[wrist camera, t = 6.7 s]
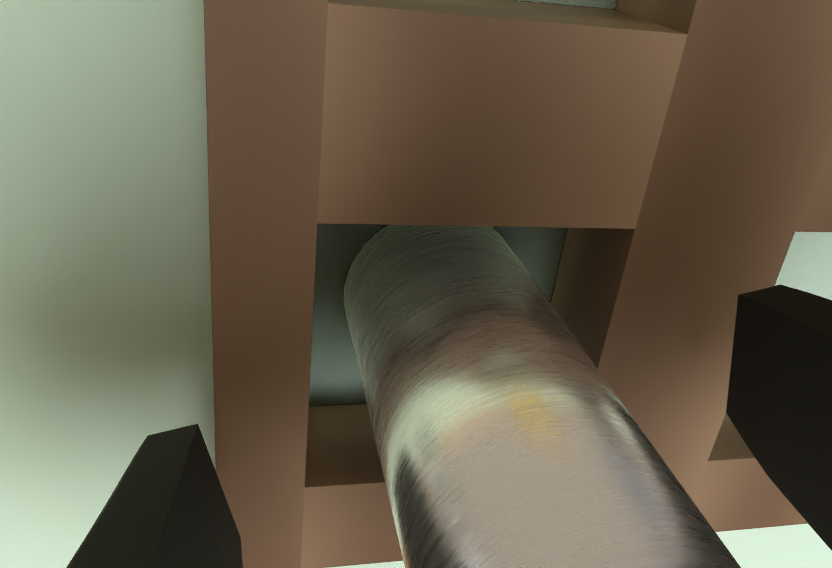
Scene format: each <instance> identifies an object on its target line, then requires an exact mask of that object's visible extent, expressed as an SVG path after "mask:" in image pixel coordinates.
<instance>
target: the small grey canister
mask: <svg viewBox="0 0 832 568" xmlns="http://www.w3.org/2000/svg"><path fill="white" fill-rule="evenodd" d="M344 307H345V313H346V317H347V322H348V326H349V330H350V334H351V339H352V343H353V347H354V352H355V356H356V360H357V364H358V369H359V373H360V377H361V381H362V386H363V390H364V394H365V398H366V403H367V407H368V411H369V416H370V420H371V424H372V428H373V433H374V437H375V441H376V445H377V450H378V454H379V458H380V462H381V467H382V471H383V475H384V479H385V484H386V488H387V492H388V497H389V501H390V505H391V509H392V514H393V518H394V522H395V526H396V531H397V535H398V539H399V543H400V548H401V552H402V556H403V560H404V565H405V568H741V567H740V566H739V565H738V563H737V562H736V560H735V559H734V558H733V556H732V555H731V553H730V552H729V551H728V549H727V548H726V546H725V545H724V544H723V542H722V541H721V540H720V538H719V537H718V535H717V534H716V533H715V531H714V530H713V528H712V527H711V526H710V524H709V523H708V521H707V520H706V519H705V517H704V516H703V515H702V513H701V512H700V510H699V509H698V508H697V506H696V505H695V503H694V502H693V501H692V499H691V498H690V496H689V495H688V494H687V492H686V491H685V490H684V488H683V487H682V485H681V484H680V483H679V481H678V480H677V478H676V477H675V476H674V474H673V473H672V471H671V470H670V469H669V467H668V466H667V465H666V463H665V462H664V460H663V459H662V458H661V456H660V455H659V453H658V452H657V451H656V449H655V448H654V447H653V445H652V444H651V442H650V441H649V440H648V438H647V437H646V435H645V434H644V433H643V431H642V430H641V428H640V427H639V426H638V424H637V423H636V422H635V420H634V419H633V417H632V416H631V415H630V413H629V412H628V410H627V409H626V408H625V406H624V405H623V403H622V402H621V401H620V399H619V398H618V397H617V395H616V394H615V392H614V391H613V390H612V388H611V387H610V385H609V384H608V383H607V381H606V380H605V378H604V377H603V376H602V374H601V373H600V372H599V370H598V369H597V367H596V366H595V365H594V363H593V362H592V360H591V359H590V358H589V356H588V355H587V354H586V352H585V351H584V349H583V348H582V347H581V345H580V344H579V342H578V341H577V340H576V338H575V337H574V335H573V334H572V333H571V331H570V330H569V329H568V327H567V326H566V324H565V323H564V322H563V320H562V319H561V317H560V316H559V315H558V313H557V312H556V310H555V309H554V308H553V306H552V305H551V304H550V302H549V301H548V299H547V298H546V297H545V295H544V294H543V292H542V291H541V290H540V288H539V287H538V285H537V284H536V283H535V281H534V280H533V279H532V277H531V276H530V274H529V273H528V272H527V270H526V269H525V267H524V266H523V265H522V263H521V262H520V260H519V259H518V258H517V256H516V255H515V254H514V252H513V251H512V249H511V248H510V247H509V245H508V244H507V242H506V241H505V240H504V238H503V237H502V236H501V235H500V234H499V233H498V232H497V231H496V230H495V229H494V228H493V227H492V226H443V225H387V226H386V227H384V228H383V229H382V230H380V231H379V232H377V233H376V234H375V235H374V236H373V237H372V238H371V239H370V240H369V241H367V243H366V244H365V245H364V246H363V247H362V249H361V250H360V251H359V253H358V254H357V256H356V257H355V259H354V260H353V263H352V265H351V267H350V269H349V271H348V275H347V278H346V281H345V287H344Z"/></svg>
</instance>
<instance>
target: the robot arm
mask: <svg viewBox="0 0 832 568" xmlns="http://www.w3.org/2000/svg"><path fill="white" fill-rule="evenodd" d="M726 413H727V415H728V417H729V418H730V420H731V421H732V423H733V424H734V426H735V428H736V429H737V431H738V432H739V434H740V436H741V437H742V439H743V440H744V442H745V443H746V445H747V447H748V448H749V450H750V451H751V452H752V454H753V455H754V457H755V458H756V460H757V461H758V463H759V464H760V466H761V467H762V468H763V470H764V471H765V473H766V474H767V476H768V477H769V478H770V479H771V480H772V482H773V483H774V484H775V485H776V486H777V488H778V489H779V490H780V491H781V492H782V494H783V495H784V496H785V497H786V498H787V499H788V501H789V502H790V503H791V504H792V505H793V506H794V508H795V509H796V510H797V511H798V512H799V513H800V515H801V516H802V517H803V518H804V519H805V520H806V522H807V523H808V524H809V525H810V526H811V527H812V528H813V530H814V531H815V532H816V533H817V534H818V535H819V536H820V538H821V539H822V540H823V541H824V542H825V543H826V544H827V546H828V547H829V548H830V549H831V550H832V300H829V299H826V298H823V297H820V296H817V295H814V294H811V293H807V292H804V291H801V290H797V289H794V288H790V287H787V286H783V285H777V286H773V287H769V288H765V289H760V290H756V291H752V292H748V293H744V294H739V295H738V301H737V311H736V320H735V330H734V340H733V349H732V359H731V368H730V378H729V388H728V397H727V407H726ZM67 568H243V561H242V548H241V537H240V534H239V532H238V529H237V526H236V524H235V521H234V518H233V516H232V513H231V511H230V508H229V505H228V503H227V500H226V497H225V495H224V492H223V489H222V487H221V484H220V482H219V479H218V476H217V474H216V471H215V468H214V466H213V463H212V460H211V458H210V455H209V452H208V450H207V447H206V445H205V442H204V439H203V437H202V434H201V431H200V429H199V426H198V424H195V425H191V426H186V427H182V428H178V429H174V430H170V431H165V432H161V433H157V434H153V435H149V436H147V438H146V439H145V441H144V442H143V443H142V445H141V447H140V448H139V450H138V451H137V453H136V455H135V456H134V458H133V460H132V461H131V463H130V465H129V466H128V468H127V470H126V471H125V473H124V475H123V476H122V478H121V480H120V481H119V483H118V485H117V487H116V488H115V490H114V492H113V493H112V495H111V497H110V498H109V500H108V502H107V503H106V505H105V507H104V508H103V510H102V512H101V513H100V515H99V517H98V518H97V520H96V521H95V523H94V525H93V526H92V528H91V530H90V531H89V533H88V535H87V536H86V538H85V539H84V541H83V542H82V544H81V546H80V547H79V549H78V550H77V552H76V553H75V555H74V557H73V558H72V560H71V561H70V563H69V564H68V566H67Z"/></svg>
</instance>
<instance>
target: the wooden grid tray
mask: <svg viewBox="0 0 832 568" xmlns="http://www.w3.org/2000/svg"><path fill="white" fill-rule="evenodd" d="M204 28H205V67H206V105H207V144H208V182H209V221H210V260H211V298H212V337H213V375H214V414H215V453H216V474H217V476H218V479H219V482H220V484H221V487H222V489H223V492H224V495H225V497H226V500H227V503H228V505H229V508H230V511H231V513H232V516H233V518H234V521H235V524H236V526H237V529H238V532H239V534H240V537H241V548H242V561H243V568H327V567H337V566H348V565H359V564H370V563H381V562H392V561H403V556H402V552H401V548H400V543H399V539H398V535H397V531H396V526H395V522H394V518H393V514H392V509H391V505H390V501H389V497H388V492H387V488H386V484H385V479H384V475H383V471H382V467H381V462H380V458H379V454H378V450H377V445H376V441H375V437H374V433H373V428H372V424H371V420H370V416H369V411H368V407H367V404H353V405H328V406H309V387H310V366H311V345H312V325H313V304H314V284H315V263H316V242H317V223H325V224H384V225H443V226H502V227H561V228H567V233H566V237H565V242H564V246H563V251H562V255H561V260H560V264H559V269H558V273H557V278H556V282H555V287H554V291H553V296H552V300H551V305H552V306H553V308H554V309H555V310H556V312H557V313H558V315H559V316H560V317H561V319H562V320H563V322H564V323H565V324H566V326H567V327H568V329H569V330H570V331H571V333H572V334H573V335H574V337H575V338H576V340H577V341H578V342H579V344H580V345H581V347H582V348H583V349H584V351H585V352H586V354H587V355H588V356H589V358H590V359H591V360H592V362H593V363H594V365H595V366H596V367H597V369H598V370H599V372H600V373H601V374H602V376H603V377H604V378H605V380H606V381H607V383H608V384H609V385H610V387H611V388H612V390H613V391H614V392H615V394H616V395H617V397H618V398H619V399H620V401H621V402H622V403H623V405H624V406H625V408H626V409H627V410H628V412H629V413H630V415H631V416H632V417H633V419H634V420H635V422H636V423H637V424H638V426H639V427H640V428H641V430H642V431H643V433H644V434H645V435H646V437H647V438H648V440H649V441H650V442H651V444H652V445H653V447H654V448H655V449H656V451H657V452H658V453H659V455H660V456H661V458H662V459H663V460H664V462H665V463H666V465H667V466H668V467H669V469H670V470H671V471H672V473H673V474H674V476H675V477H676V478H677V480H678V481H679V483H680V484H681V485H682V487H683V488H684V490H685V491H686V492H687V494H688V495H689V496H690V498H691V499H692V501H693V502H694V503H695V505H696V506H697V508H698V509H699V510H700V512H701V513H702V515H703V516H704V517H705V519H706V520H707V521H708V523H709V524H710V526H711V527H712V528H713V530H714V531H715V532H720V531H731V530H742V529H752V528H763V527H774V526H785V525H796V524H807V522H806V520H805V519H804V518H803V517H802V516H801V515H800V513H799V512H798V511H797V510H796V509H795V508H794V506H793V505H792V504H791V503H790V502H789V501H788V499H787V498H786V497H785V496H784V495H783V494H782V492H781V491H780V490H779V489H778V488H777V486H776V485H775V484H774V483H773V482H772V480H771V479H770V478H769V477H768V476H767V474H766V473H765V471H764V470H763V468H762V467H761V466H760V464H759V463H758V461H757V460H756V458H755V457H754V455H753V454H752V452H751V451H750V450H749V448H748V447H747V445H746V443H745V442H744V440H743V439H742V437H741V436H740V434H739V432H738V431H737V429H736V428H735V426H734V424H733V423H732V421H731V420H730V418H729V417H728V415H727V413H726V407H727V397H728V388H729V378H730V368H731V359H732V349H733V340H734V330H735V320H736V311H737V301H738V295H739V294H744V293H748V292H752V291H756V290H760V289H765V288H769V287H773V286H774V285H775V283H776V280H777V277H778V275H779V272H780V270H781V267H782V264H783V262H784V259H785V256H786V254H787V251H788V249H789V246H790V243H791V241H792V238H793V235H794V233H795V231H798V232H832V0H618V3H617V7H616V10H613V9H603V8H592V7H581V6H570V5H559V4H549V3H538V2H527V1H516V0H204Z"/></svg>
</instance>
